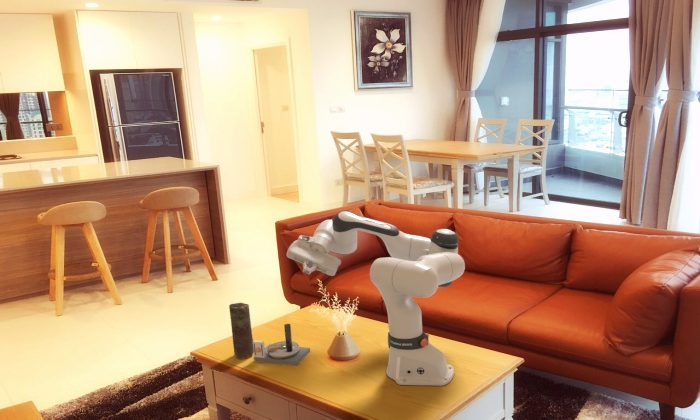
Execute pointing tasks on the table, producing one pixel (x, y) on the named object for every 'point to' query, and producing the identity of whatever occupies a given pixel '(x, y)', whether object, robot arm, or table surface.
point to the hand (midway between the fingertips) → (306, 272)
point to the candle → (241, 330)
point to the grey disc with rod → (284, 346)
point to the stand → (262, 356)
